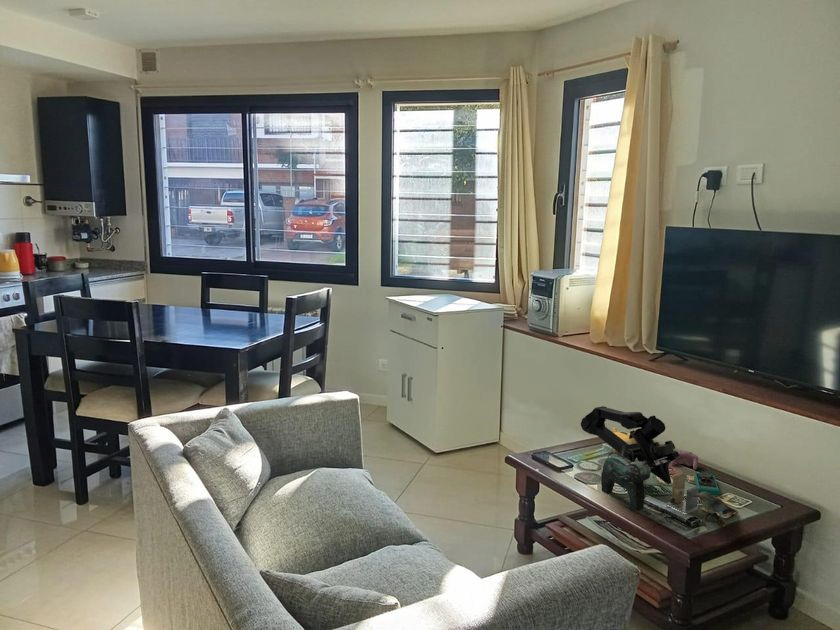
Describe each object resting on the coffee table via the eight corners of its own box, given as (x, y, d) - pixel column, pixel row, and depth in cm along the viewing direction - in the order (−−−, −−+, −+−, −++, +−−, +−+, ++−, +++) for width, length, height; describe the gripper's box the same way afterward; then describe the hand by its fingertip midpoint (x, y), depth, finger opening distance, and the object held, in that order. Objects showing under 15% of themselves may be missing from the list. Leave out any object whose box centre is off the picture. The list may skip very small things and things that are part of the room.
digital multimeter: (714, 480, 246) (714, 473, 245) (719, 497, 232) (720, 490, 231) (693, 478, 248) (694, 471, 248) (697, 495, 234) (698, 487, 234)
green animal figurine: (649, 510, 221) (653, 456, 218) (635, 514, 219) (639, 459, 215) (609, 487, 239) (612, 437, 235) (595, 491, 236) (598, 440, 233)
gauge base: (666, 506, 225) (667, 484, 223) (679, 501, 228) (681, 479, 227) (684, 514, 218) (686, 492, 217) (697, 509, 222) (699, 487, 221)
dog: (639, 466, 258) (641, 436, 255) (603, 449, 275) (605, 421, 273) (653, 463, 261) (655, 433, 259) (617, 446, 279) (619, 418, 276)
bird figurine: (720, 504, 224) (706, 464, 216) (747, 516, 216) (732, 476, 207) (697, 530, 220) (681, 491, 212) (723, 544, 212) (708, 504, 203)
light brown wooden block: (668, 502, 224) (670, 475, 222) (678, 498, 227) (680, 471, 225) (674, 505, 222) (676, 478, 220) (684, 501, 225) (686, 474, 223)
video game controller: (697, 471, 257) (700, 454, 258) (696, 470, 253) (698, 452, 255) (671, 466, 262) (674, 449, 264) (670, 464, 258) (672, 447, 260)
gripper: (643, 439, 224) (667, 480, 217) (677, 429, 234) (701, 468, 226) (623, 453, 232) (647, 493, 225) (657, 442, 242) (680, 481, 234)
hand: (669, 483), depth 227 cm, fingers closed
